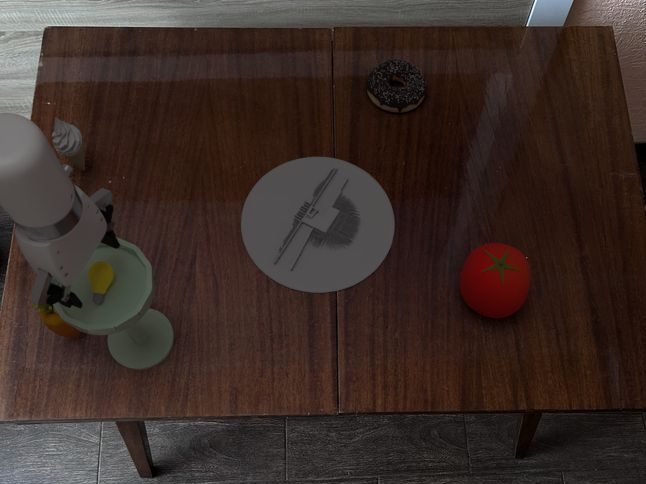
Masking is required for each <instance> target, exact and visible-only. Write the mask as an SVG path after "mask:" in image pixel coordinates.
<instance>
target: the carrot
mask: <svg viewBox="0 0 646 484" xmlns="http://www.w3.org/2000/svg"><path fill="white" fill-rule="evenodd" d="M33 309H34V310H39V311H38V315H39V317H40V319H41V321H42V324H43V325H44V326H46V327H47V328H48V330H50V331H51V332H52V333H54V334H56V335H59V336H61V337H64V338H69V339H75V338H77V337H79V336H80V333H81V331H79V330H77V329H75V328H74V327H72V326H71V325H69V324H66V322H64V321H63V320H62V319H61V317H60V315H59V314H58V312H57V311H56V309H55V308H54V306H53V305H48V304H47V305H40V306H39V305H37V304H34V303H33Z"/></svg>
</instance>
